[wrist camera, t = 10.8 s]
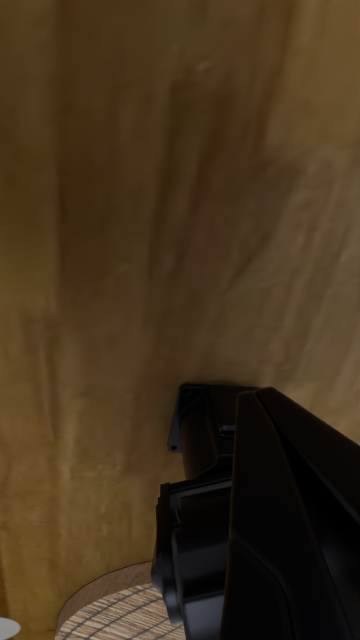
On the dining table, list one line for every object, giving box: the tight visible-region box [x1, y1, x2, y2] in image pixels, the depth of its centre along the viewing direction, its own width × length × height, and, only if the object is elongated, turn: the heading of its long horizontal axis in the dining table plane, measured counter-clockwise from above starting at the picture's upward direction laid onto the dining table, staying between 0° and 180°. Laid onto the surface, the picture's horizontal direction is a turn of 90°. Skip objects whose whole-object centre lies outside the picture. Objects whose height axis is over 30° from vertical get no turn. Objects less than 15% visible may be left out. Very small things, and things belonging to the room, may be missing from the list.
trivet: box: [55, 562, 186, 640], centre depth 38 cm, size 25×25×2 cm
